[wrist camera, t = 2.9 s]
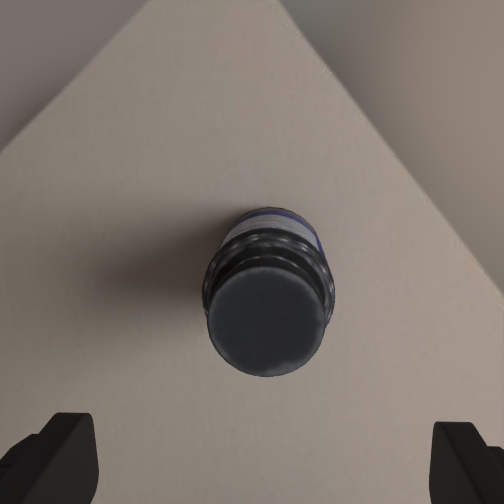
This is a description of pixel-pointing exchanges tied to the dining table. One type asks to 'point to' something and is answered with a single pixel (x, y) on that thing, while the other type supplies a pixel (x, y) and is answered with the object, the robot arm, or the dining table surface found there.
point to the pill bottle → (268, 293)
